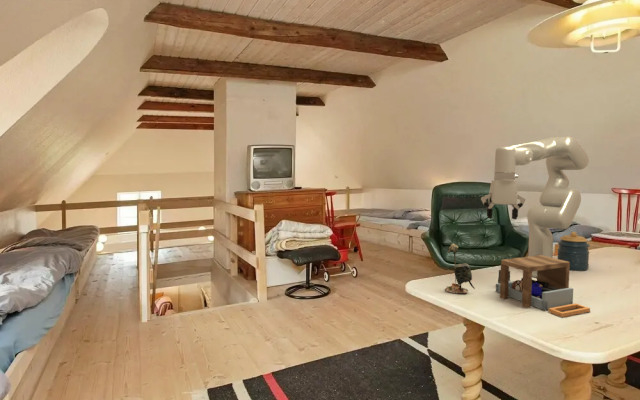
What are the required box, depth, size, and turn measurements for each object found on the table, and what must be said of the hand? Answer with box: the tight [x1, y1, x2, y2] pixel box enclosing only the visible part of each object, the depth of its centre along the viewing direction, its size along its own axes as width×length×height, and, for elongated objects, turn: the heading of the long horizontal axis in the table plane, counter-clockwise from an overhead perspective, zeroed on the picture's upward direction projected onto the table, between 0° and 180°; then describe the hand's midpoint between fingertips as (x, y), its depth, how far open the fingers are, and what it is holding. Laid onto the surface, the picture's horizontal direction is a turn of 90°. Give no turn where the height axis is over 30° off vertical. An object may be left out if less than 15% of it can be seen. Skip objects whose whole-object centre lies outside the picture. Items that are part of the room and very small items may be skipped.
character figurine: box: [512, 277, 558, 299], centre depth 143 cm, size 8×7×15 cm
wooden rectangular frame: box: [548, 303, 591, 318], centre depth 130 cm, size 13×5×1 cm, turn 110°
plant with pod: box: [444, 243, 476, 294], centre depth 151 cm, size 8×11×20 cm
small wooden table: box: [499, 255, 570, 309], centre depth 142 cm, size 20×12×15 cm, turn 110°
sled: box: [495, 269, 574, 311], centre depth 145 cm, size 13×26×7 cm, turn 20°
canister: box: [556, 231, 591, 272], centre depth 185 cm, size 13×13×18 cm
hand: (502, 218), depth 157 cm, fingers open, 9 cm apart
